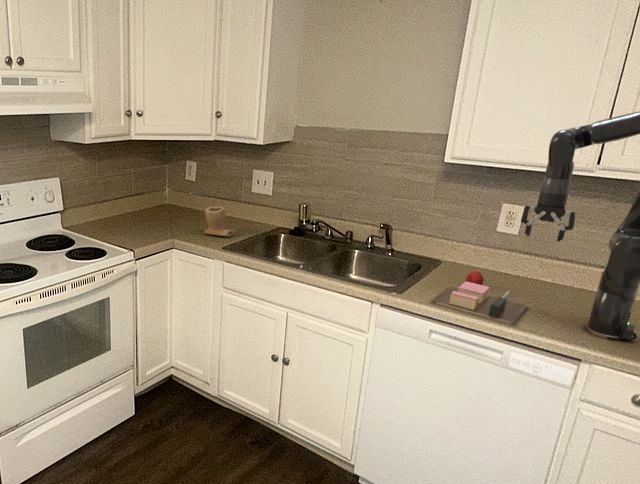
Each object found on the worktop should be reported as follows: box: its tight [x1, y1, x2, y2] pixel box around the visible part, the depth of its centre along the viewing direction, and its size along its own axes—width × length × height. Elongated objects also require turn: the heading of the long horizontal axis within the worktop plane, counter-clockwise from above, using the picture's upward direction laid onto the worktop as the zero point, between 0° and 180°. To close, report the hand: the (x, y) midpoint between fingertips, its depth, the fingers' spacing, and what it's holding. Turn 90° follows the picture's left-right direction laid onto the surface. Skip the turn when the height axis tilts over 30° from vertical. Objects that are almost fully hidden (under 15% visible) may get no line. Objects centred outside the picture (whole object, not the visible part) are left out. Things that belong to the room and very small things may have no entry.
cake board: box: [432, 286, 528, 324], centre depth 185 cm, size 25×20×1 cm
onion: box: [465, 268, 484, 285], centre depth 200 cm, size 6×6×8 cm
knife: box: [488, 290, 510, 319], centre depth 180 cm, size 19×2×4 cm, turn 135°
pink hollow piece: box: [204, 205, 237, 238], centre depth 267 cm, size 15×12×15 cm
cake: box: [457, 281, 491, 304], centre depth 190 cm, size 8×9×4 cm
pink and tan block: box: [449, 291, 479, 310], centre depth 182 cm, size 8×3×4 cm, turn 46°
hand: (543, 238), depth 175 cm, fingers open, 8 cm apart
